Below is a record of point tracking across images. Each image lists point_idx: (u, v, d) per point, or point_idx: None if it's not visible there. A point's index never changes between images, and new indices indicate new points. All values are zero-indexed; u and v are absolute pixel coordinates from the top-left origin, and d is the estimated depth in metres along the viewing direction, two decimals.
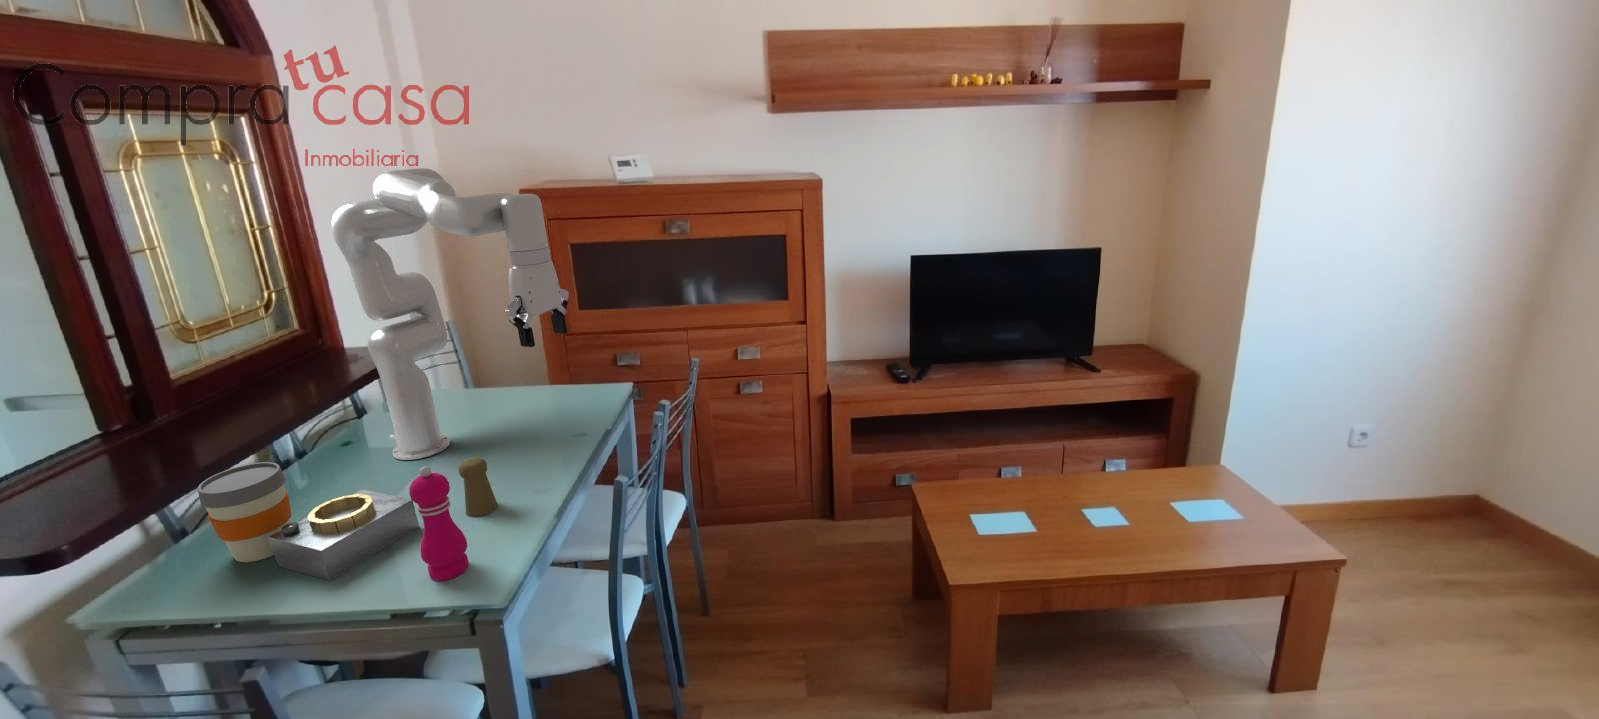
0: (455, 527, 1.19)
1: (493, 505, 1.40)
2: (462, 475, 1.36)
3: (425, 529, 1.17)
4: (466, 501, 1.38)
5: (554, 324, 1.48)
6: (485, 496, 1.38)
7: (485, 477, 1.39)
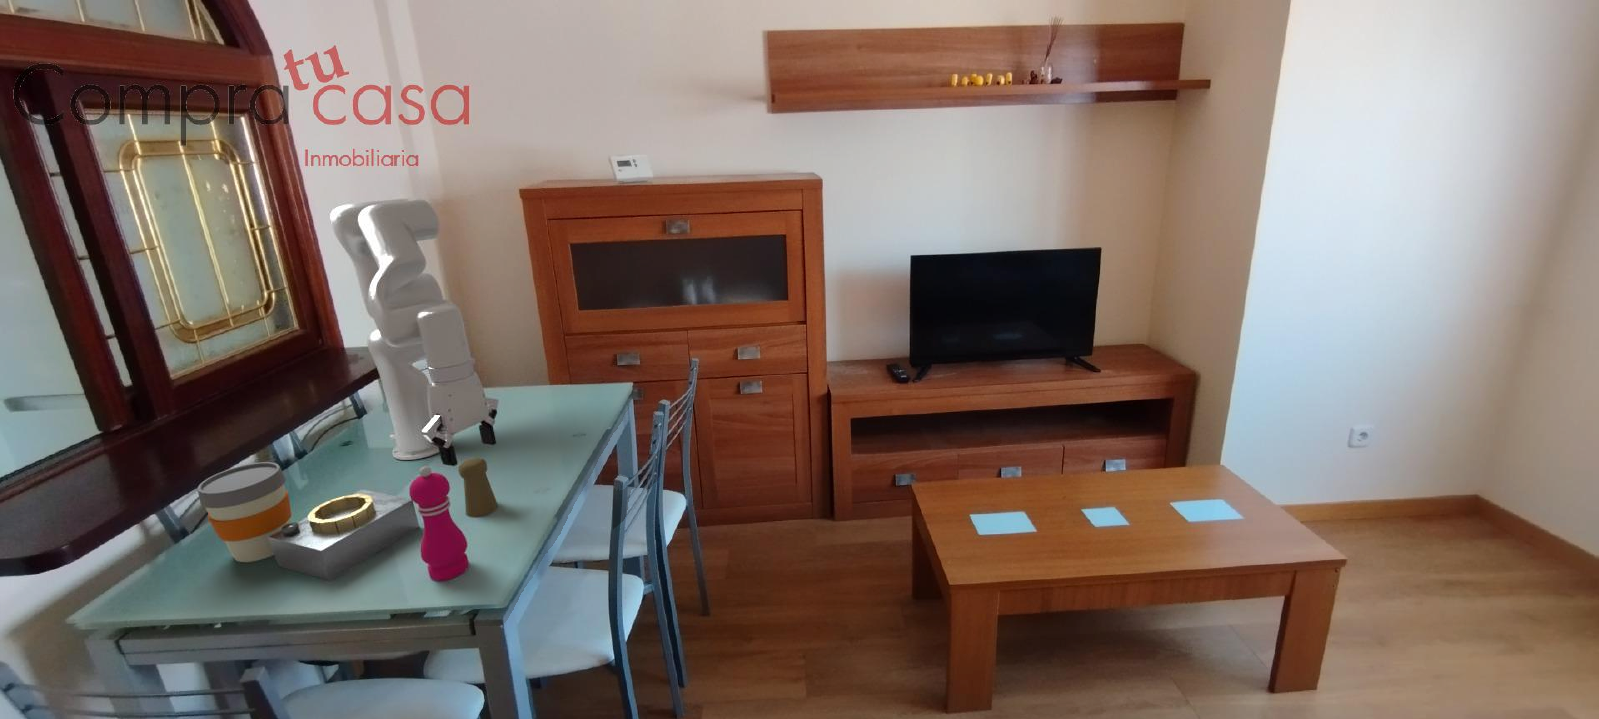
0: (455, 527, 1.19)
1: (493, 505, 1.40)
2: (462, 475, 1.36)
3: (425, 529, 1.17)
4: (466, 501, 1.38)
5: (482, 435, 1.40)
6: (485, 496, 1.38)
7: (485, 477, 1.39)
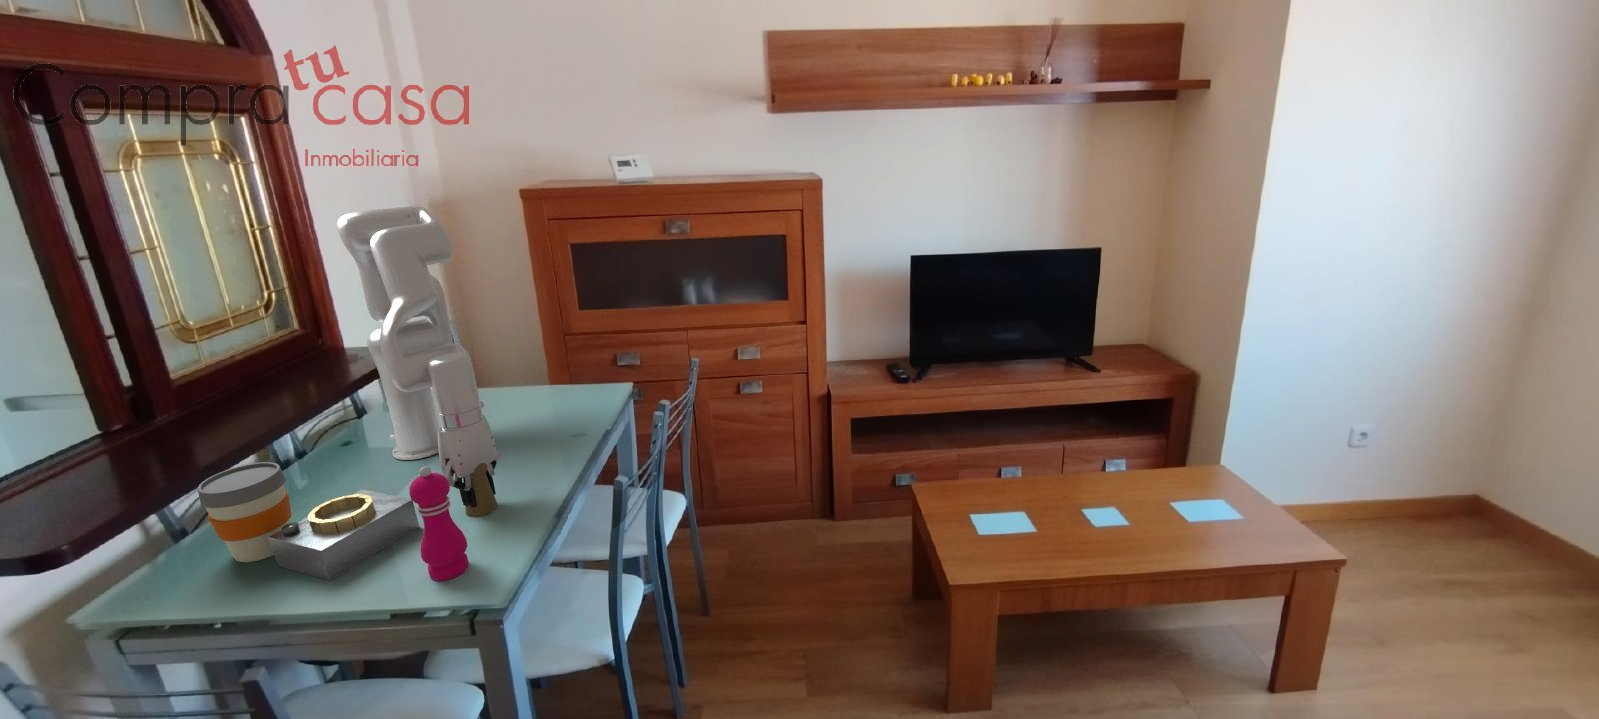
0: (455, 527, 1.19)
1: (493, 505, 1.40)
2: None
3: (425, 529, 1.17)
4: None
5: None
6: (485, 496, 1.38)
7: (485, 477, 1.39)
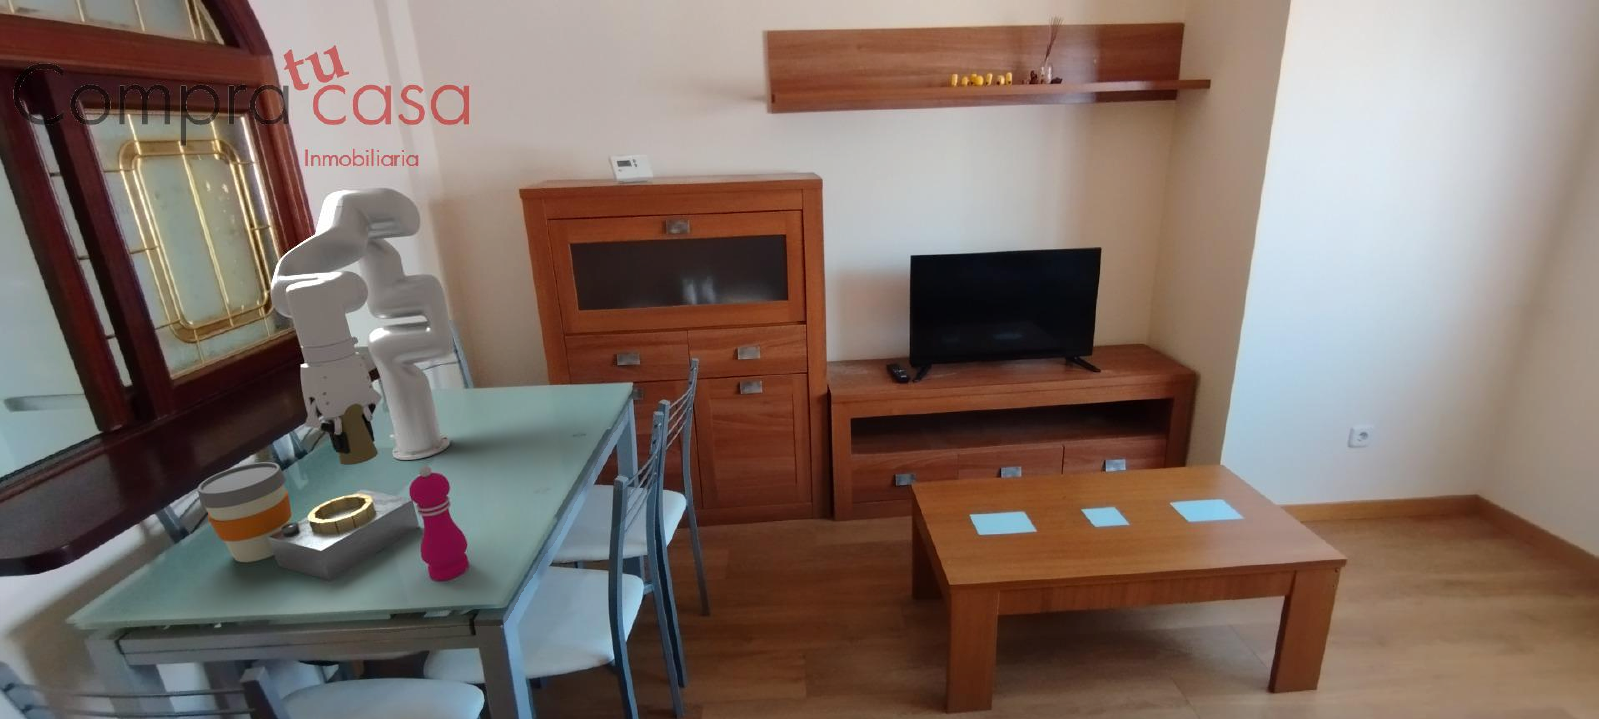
0: (455, 527, 1.19)
1: (371, 452, 1.27)
2: None
3: (425, 529, 1.17)
4: None
5: None
6: (360, 441, 1.25)
7: (360, 421, 1.25)
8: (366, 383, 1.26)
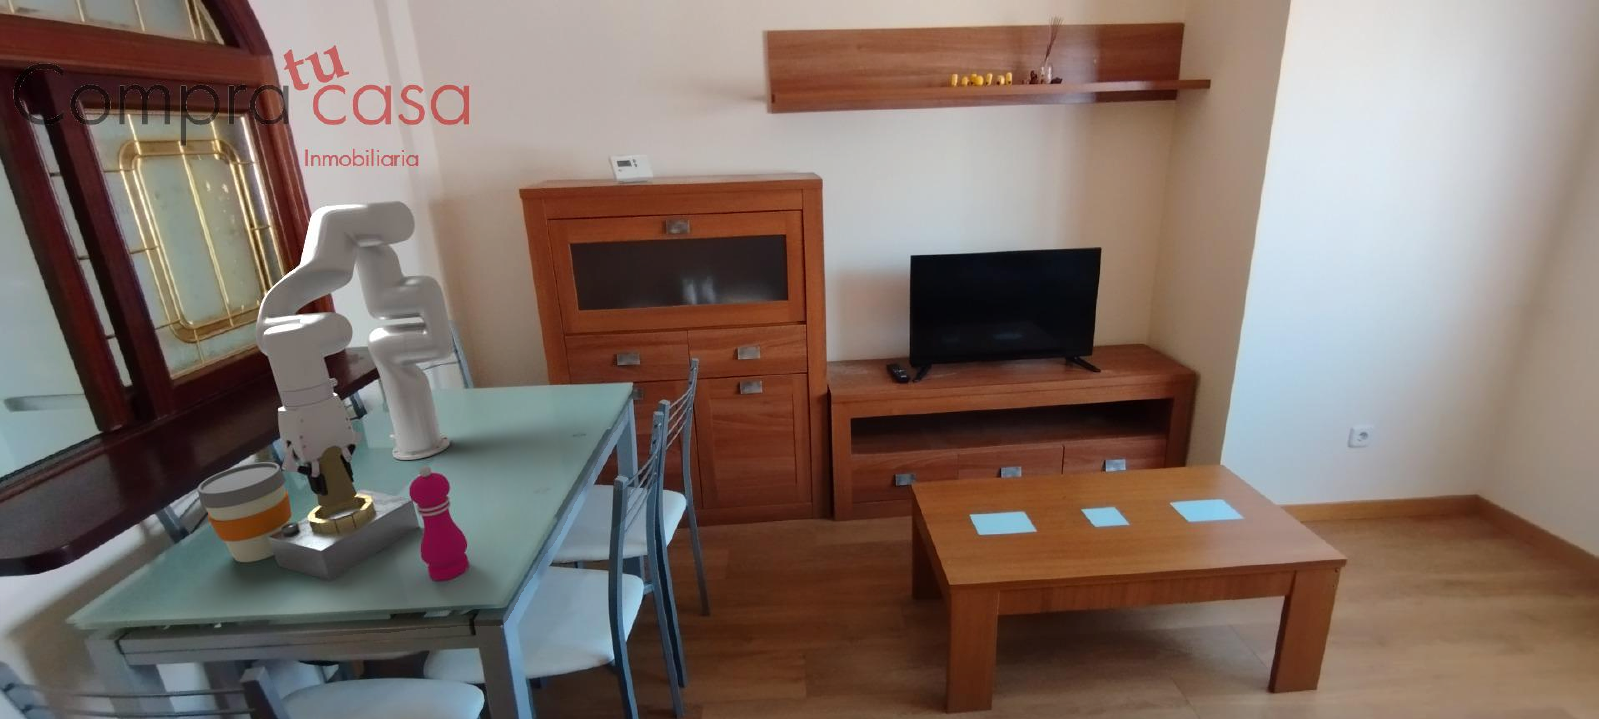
0: (455, 527, 1.19)
1: (349, 493, 1.26)
2: None
3: (425, 529, 1.17)
4: None
5: None
6: (338, 483, 1.25)
7: (339, 462, 1.25)
8: (345, 425, 1.25)
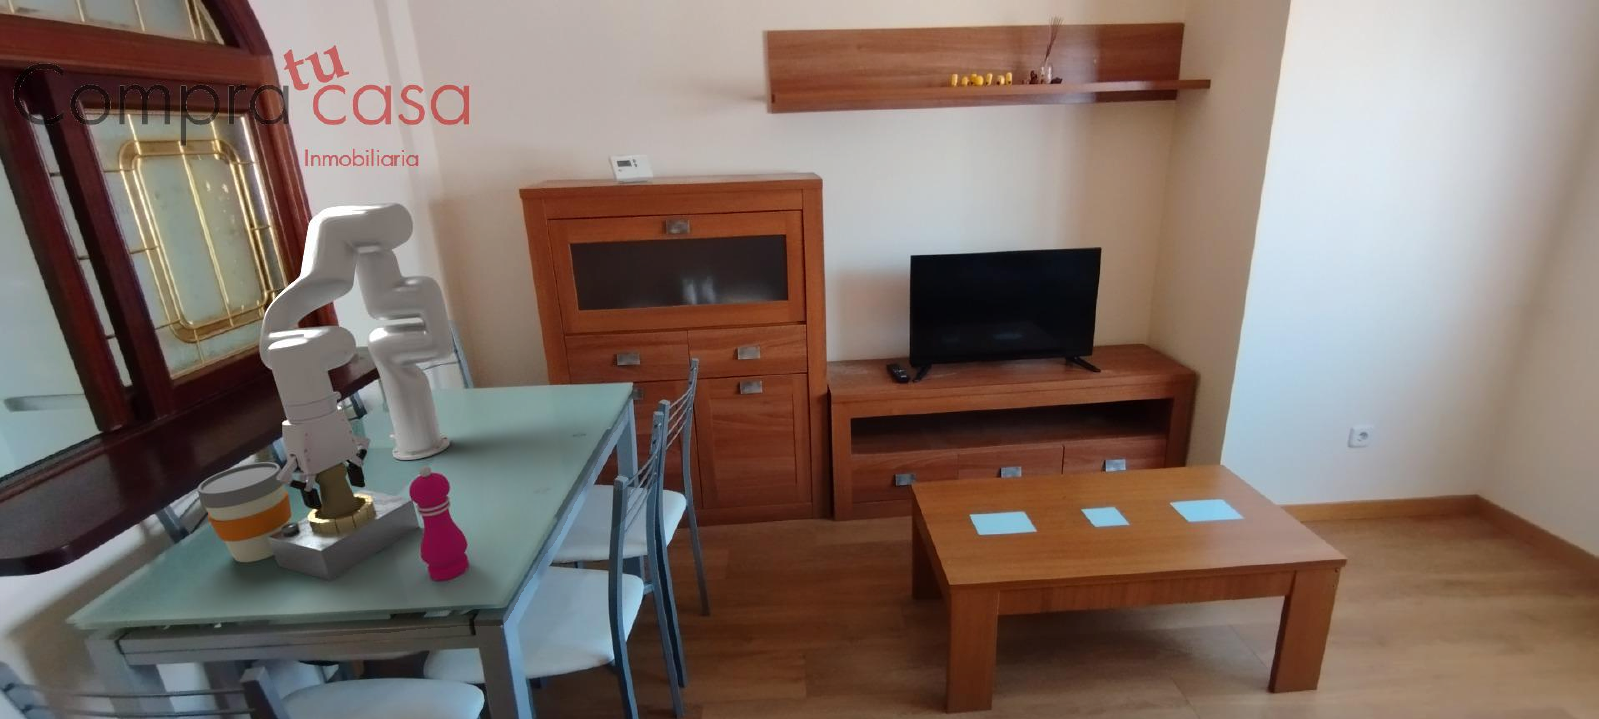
0: (455, 527, 1.19)
1: None
2: (316, 480, 1.23)
3: (425, 529, 1.17)
4: (323, 509, 1.26)
5: (350, 477, 1.30)
6: (344, 503, 1.26)
7: (344, 482, 1.26)
8: (349, 437, 1.26)
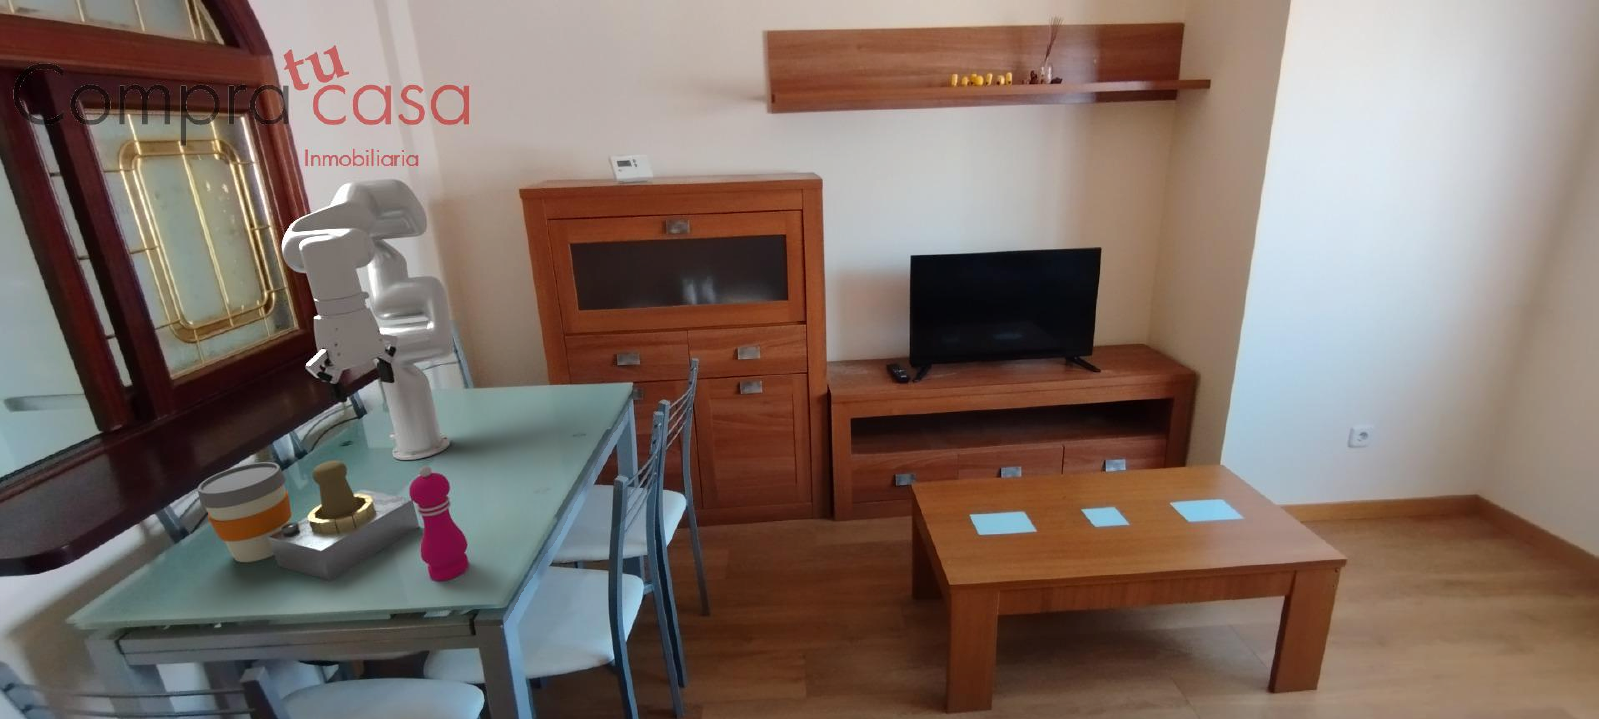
0: (455, 527, 1.19)
1: None
2: (316, 480, 1.24)
3: (425, 529, 1.17)
4: (323, 509, 1.26)
5: (380, 373, 1.36)
6: (344, 502, 1.26)
7: (344, 482, 1.26)
8: (376, 336, 1.31)
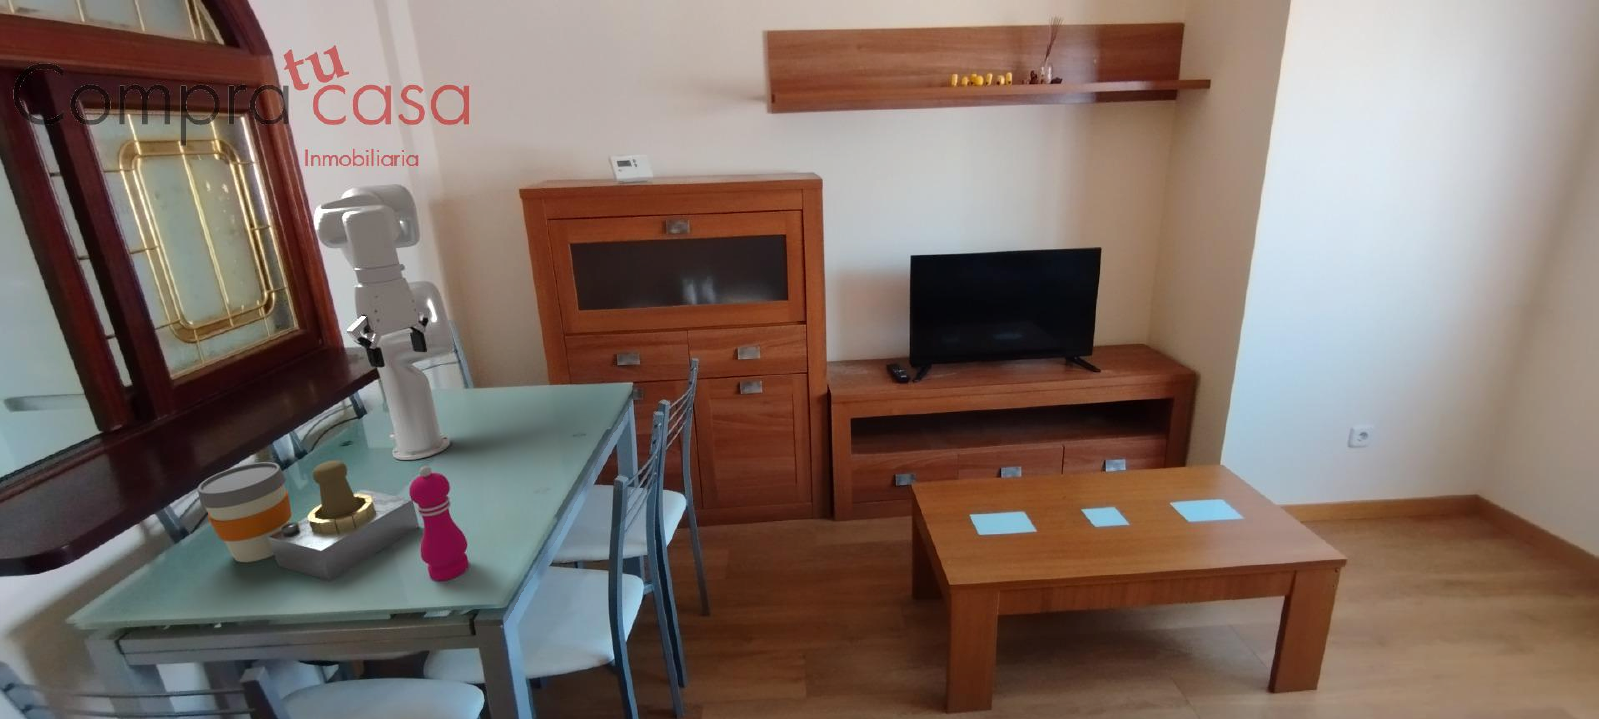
0: (455, 527, 1.19)
1: None
2: (316, 480, 1.24)
3: (425, 529, 1.17)
4: (323, 509, 1.26)
5: (413, 342, 1.43)
6: (344, 502, 1.26)
7: (344, 482, 1.26)
8: (411, 306, 1.38)
